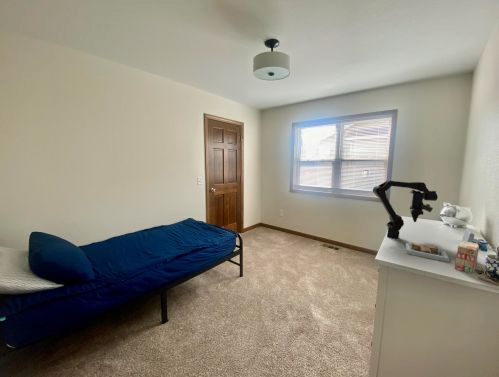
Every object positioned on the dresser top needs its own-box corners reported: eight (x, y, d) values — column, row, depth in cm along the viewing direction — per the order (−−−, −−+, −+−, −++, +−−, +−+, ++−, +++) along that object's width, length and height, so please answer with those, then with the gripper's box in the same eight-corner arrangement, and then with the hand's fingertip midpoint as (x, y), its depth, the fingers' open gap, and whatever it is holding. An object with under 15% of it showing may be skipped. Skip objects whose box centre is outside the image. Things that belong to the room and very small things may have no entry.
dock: (406, 253, 123) (407, 250, 123) (405, 246, 134) (405, 243, 134) (448, 261, 113) (448, 258, 113) (443, 253, 124) (443, 250, 124)
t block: (412, 253, 123) (413, 248, 123) (411, 246, 133) (411, 242, 133) (440, 258, 117) (440, 253, 116) (436, 251, 126) (436, 246, 126)
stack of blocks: (460, 257, 119) (463, 236, 117) (476, 261, 114) (480, 240, 112) (454, 269, 105) (458, 245, 104) (472, 274, 101) (476, 249, 99)
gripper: (434, 203, 133) (431, 227, 135) (430, 199, 149) (427, 221, 151) (412, 201, 140) (410, 224, 141) (410, 197, 155) (408, 218, 157)
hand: (414, 221), depth 147 cm, fingers closed
